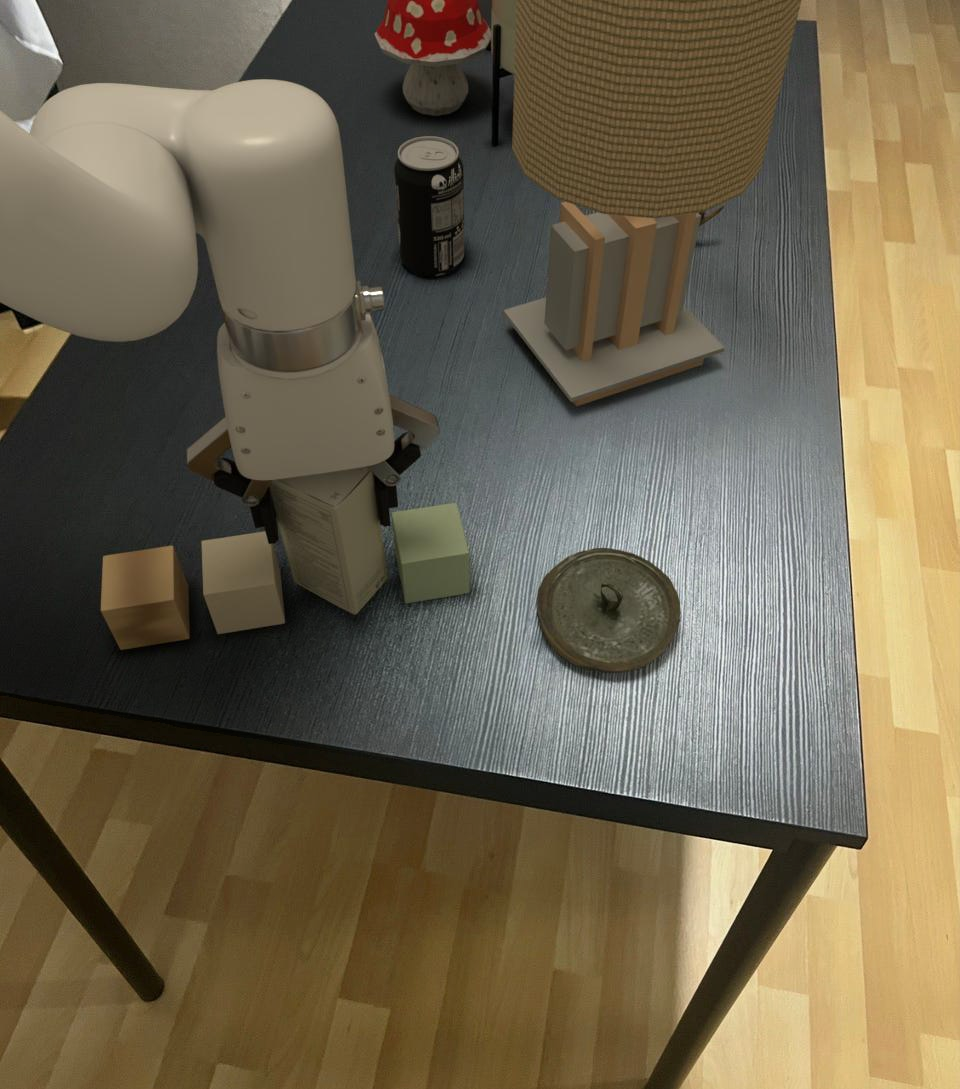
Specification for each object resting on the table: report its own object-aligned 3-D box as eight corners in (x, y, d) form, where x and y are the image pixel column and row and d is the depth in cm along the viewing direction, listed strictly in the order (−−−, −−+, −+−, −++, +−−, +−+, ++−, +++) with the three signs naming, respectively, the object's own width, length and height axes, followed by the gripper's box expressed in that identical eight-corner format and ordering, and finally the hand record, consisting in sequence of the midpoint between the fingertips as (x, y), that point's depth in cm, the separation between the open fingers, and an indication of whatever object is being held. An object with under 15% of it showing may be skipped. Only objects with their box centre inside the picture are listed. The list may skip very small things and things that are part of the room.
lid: (658, 578, 79) (660, 527, 76) (697, 664, 71) (701, 610, 68) (527, 598, 78) (524, 547, 75) (552, 686, 70) (549, 634, 67)
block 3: (405, 604, 75) (401, 563, 71) (395, 553, 78) (391, 511, 75) (469, 593, 76) (469, 552, 72) (457, 543, 79) (456, 502, 75)
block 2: (217, 634, 74) (203, 594, 70) (215, 581, 77) (201, 540, 73) (285, 623, 74) (275, 583, 70) (280, 571, 77) (270, 530, 73)
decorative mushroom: (358, 114, 122) (345, -17, 110) (417, 67, 129) (411, -61, 118) (456, 143, 117) (454, 10, 106) (511, 92, 125) (515, -37, 113)
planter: (584, 178, 113) (605, -44, 95) (466, 139, 118) (464, -78, 100) (643, 120, 121) (672, -94, 103) (529, 86, 126) (539, -123, 108)
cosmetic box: (389, 578, 76) (378, 468, 66) (354, 619, 73) (337, 510, 64) (323, 543, 78) (304, 432, 68) (287, 582, 75) (262, 471, 66)
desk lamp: (567, 446, 86) (610, 23, 59) (471, 316, 97) (470, -91, 70) (755, 382, 91) (875, -34, 64) (644, 265, 102) (706, -131, 75)
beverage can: (403, 241, 105) (396, 132, 96) (465, 242, 105) (464, 134, 95) (398, 279, 101) (390, 170, 91) (462, 280, 101) (461, 171, 91)
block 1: (120, 650, 73) (100, 611, 69) (121, 596, 76) (102, 555, 72) (189, 639, 73) (174, 599, 69) (188, 585, 76) (173, 544, 72)
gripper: (433, 259, 60) (440, 464, 74) (136, 294, 57) (201, 499, 71) (456, 339, 55) (459, 541, 69) (134, 380, 53) (204, 581, 67)
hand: (327, 518), depth 70 cm, fingers closed on cosmetic box, 7 cm apart
